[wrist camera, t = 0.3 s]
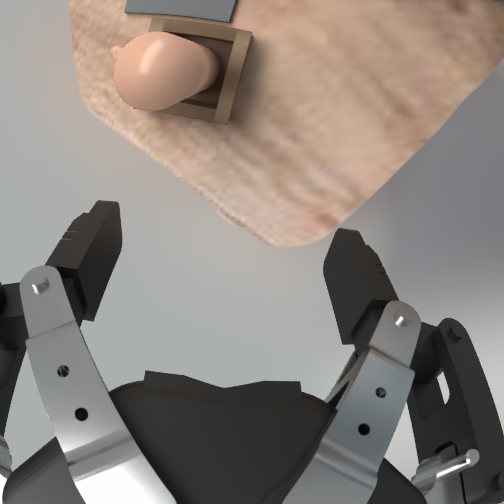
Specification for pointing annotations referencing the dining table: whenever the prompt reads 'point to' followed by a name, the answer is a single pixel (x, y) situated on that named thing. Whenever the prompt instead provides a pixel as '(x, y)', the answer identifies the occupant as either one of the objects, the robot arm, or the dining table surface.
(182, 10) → the charcoal mat
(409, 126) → the dining table surface
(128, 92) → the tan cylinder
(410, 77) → the dining table surface
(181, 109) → the walnut collar
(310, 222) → the dining table surface
